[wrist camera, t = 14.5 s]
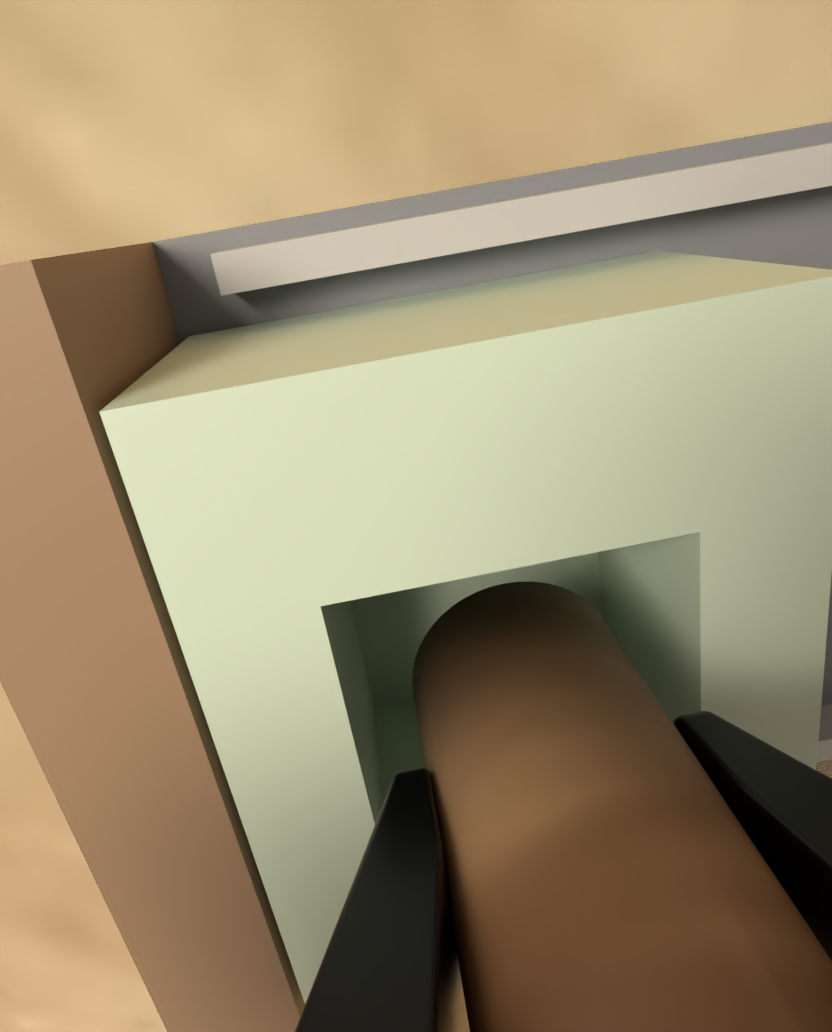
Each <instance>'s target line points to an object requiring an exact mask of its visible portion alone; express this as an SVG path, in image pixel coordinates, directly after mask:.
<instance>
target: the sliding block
mask: <svg viewBox="0 0 832 1032" xmlns="http://www.w3.org/2000/svg"><path fill="white" fill-rule="evenodd" d="M99 413H100V416H101V419H102V421H103V424H104V427H105V430H106V433H107V436H108V439H109V442H110V444H111V447H112V450H113V453H114V456H115V459H116V462H117V465H118V467H119V470H120V473H121V476H122V479H123V482H124V485H125V488H126V491H127V493H128V496H129V499H130V502H131V505H132V508H133V511H134V514H135V516H136V519H137V522H138V525H139V528H140V531H141V534H142V537H143V539H144V542H145V545H146V548H147V551H148V554H149V557H150V560H151V562H152V565H153V568H154V571H155V574H156V577H157V580H158V583H159V585H160V588H161V591H162V594H163V597H164V600H165V603H166V606H167V608H168V611H169V614H170V617H171V620H172V623H173V626H174V629H175V631H176V634H177V637H178V640H179V643H180V646H181V649H182V652H183V655H184V657H185V660H186V663H187V666H188V669H189V672H190V675H191V678H192V680H193V683H194V686H195V689H196V692H197V695H198V698H199V701H200V703H201V706H202V709H203V712H204V715H205V718H206V721H207V724H208V726H209V729H210V732H211V735H212V738H213V741H214V744H215V747H216V749H217V752H218V755H219V758H220V761H221V764H222V767H223V770H224V772H225V775H226V778H227V781H228V784H229V787H230V790H231V793H232V795H233V798H234V801H235V804H236V807H237V810H238V813H239V816H240V819H241V821H242V824H243V827H244V830H245V833H246V836H247V839H248V842H249V844H250V847H251V850H252V853H253V856H254V859H255V862H256V865H257V867H258V870H259V873H260V876H261V879H262V882H263V885H264V888H265V890H266V893H267V896H268V899H269V902H270V905H271V908H272V911H273V913H274V916H275V919H276V922H277V925H278V928H279V931H280V934H281V936H282V939H283V942H284V945H285V948H286V951H287V954H288V957H289V959H290V962H291V965H292V968H293V971H294V974H295V977H296V980H297V983H298V985H299V988H300V991H301V994H302V997H303V1000H304V1003H306V1001H307V998H308V996H309V993H310V991H311V988H312V985H313V983H314V980H315V978H316V975H317V973H318V970H319V967H320V965H321V962H322V960H323V957H324V955H325V952H326V949H327V947H328V944H329V942H330V939H331V937H332V934H333V931H334V929H335V926H336V924H337V921H338V919H339V916H340V913H341V911H342V908H343V906H344V903H345V901H346V898H347V896H348V893H349V890H350V888H351V885H352V883H353V880H354V878H355V875H356V872H357V870H358V867H359V865H360V862H361V860H362V857H363V854H364V852H365V849H366V847H367V844H368V842H369V839H370V836H371V834H372V831H373V829H374V826H375V824H376V821H377V818H378V816H379V813H380V811H381V808H382V806H383V803H384V801H385V798H386V795H387V793H388V790H389V788H390V785H391V783H392V780H393V778H394V776H395V775H396V774H398V773H401V772H406V771H411V770H416V769H420V768H426V765H425V759H424V753H423V747H422V741H421V735H420V729H419V723H418V717H417V711H416V705H415V699H414V693H413V684H412V676H413V666H414V661H415V657H416V655H417V652H418V649H419V646H420V645H421V643H422V641H423V639H424V637H425V635H426V634H427V632H428V631H429V629H430V628H431V627H432V625H433V624H434V623H435V622H436V621H437V620H438V619H439V618H440V617H441V615H443V614H444V613H445V612H446V611H447V610H448V609H450V608H451V607H452V606H453V605H455V604H456V603H458V602H459V601H461V600H462V599H464V598H466V597H468V596H470V595H472V594H474V593H476V592H478V591H481V590H483V589H486V588H488V587H492V586H496V585H500V584H504V583H511V582H528V581H532V582H542V583H548V584H552V585H556V586H560V587H562V588H565V589H567V590H570V591H572V592H574V593H576V594H577V595H579V596H581V597H582V598H584V599H585V600H586V601H588V602H589V603H590V604H591V605H592V606H593V607H594V608H595V609H596V610H597V611H598V612H599V613H600V615H601V616H602V617H603V619H604V620H605V622H606V623H607V625H608V626H609V628H610V629H611V631H612V632H613V634H614V635H615V637H616V638H617V640H618V641H619V643H620V644H621V646H622V647H623V649H624V650H625V652H626V653H627V655H628V656H629V658H630V659H631V661H632V662H633V664H634V665H635V667H636V668H637V670H638V671H639V673H640V674H641V676H642V677H643V679H644V680H645V682H646V683H647V685H648V686H649V688H650V689H651V691H652V692H653V694H654V695H655V697H656V698H657V700H658V701H659V703H660V704H661V706H662V707H663V709H664V710H665V712H666V713H667V715H668V716H669V718H670V719H671V721H672V722H674V720H675V719H676V718H677V717H678V716H681V715H686V714H691V713H696V712H701V711H708V712H712V713H714V714H716V715H717V716H719V717H721V718H723V719H725V720H726V721H728V722H730V723H732V724H734V725H735V726H737V727H739V728H741V729H743V730H744V731H746V732H748V733H750V734H752V735H753V736H755V737H757V738H759V739H761V740H762V741H764V742H766V743H768V744H770V745H771V746H773V747H775V748H777V749H779V750H780V751H782V752H784V753H786V754H788V755H789V756H791V757H793V758H795V759H797V760H798V761H800V762H802V763H804V764H806V765H807V766H809V767H811V768H813V769H815V770H816V768H817V755H818V742H819V729H820V716H821V703H822V690H823V677H824V664H825V651H826V639H827V626H828V613H829V600H830V587H831V574H832V270H830V269H821V268H812V267H802V266H793V265H784V264H775V263H765V262H756V261H747V260H738V259H728V258H719V257H710V256H701V255H691V254H682V253H673V252H664V251H655V252H650V253H644V254H639V255H633V256H628V257H622V258H617V259H611V260H606V261H600V262H595V263H589V264H584V265H578V266H573V267H567V268H562V269H556V270H551V271H545V272H540V273H534V274H529V275H523V276H518V277H512V278H507V279H501V280H496V281H490V282H485V283H479V284H474V285H468V286H463V287H457V288H452V289H446V290H441V291H435V292H430V293H424V294H419V295H413V296H408V297H402V298H397V299H391V300H386V301H380V302H375V303H369V304H364V305H358V306H353V307H347V308H342V309H336V310H331V311H325V312H320V313H314V314H309V315H303V316H298V317H292V318H287V319H281V320H276V321H270V322H265V323H259V324H254V325H248V326H243V327H237V328H232V329H226V330H221V331H215V332H210V333H204V334H199V335H193V336H189V337H188V338H187V339H185V340H184V341H183V342H182V343H181V344H179V345H178V346H177V347H176V348H175V349H173V350H172V351H171V352H170V353H169V354H167V355H166V356H165V357H164V358H163V359H162V360H160V361H159V362H158V363H157V364H156V365H154V366H153V367H152V368H151V369H150V370H148V371H147V372H146V373H145V374H144V375H142V376H141V377H140V378H139V379H138V380H136V381H135V382H134V383H133V384H132V385H130V386H129V387H128V388H127V389H126V390H125V391H123V392H122V393H121V394H120V395H119V396H117V397H116V398H115V399H114V400H113V401H111V402H110V403H109V404H108V405H107V406H105V407H104V408H103V409H102V410H101V411H99Z"/></svg>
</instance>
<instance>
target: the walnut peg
mask: <svg viewBox="0 0 832 1032" xmlns="http://www.w3.org/2000/svg"><path fill="white" fill-rule="evenodd" d="M412 684H413V693H414V699H415V705H416V711H417V717H418V723H419V729H420V735H421V741H422V747H423V753H424V759H425V765H426V769H428V770H429V771H430V774H431V779H432V785H433V791H434V797H435V802H436V808H437V814H438V820H439V826H440V831H441V837H442V843H443V849H444V854H445V860H446V867H447V874H448V881H449V891H450V902H451V913H452V923H453V930H454V938H455V945H456V951H457V957H458V963H459V969H460V975H461V981H462V987H463V993H464V999H465V1005H466V1011H467V1017H468V1023H469V1029H470V1032H832V960H831V959H830V957H829V956H828V954H827V953H826V951H825V950H824V948H823V947H822V945H821V944H820V942H819V941H818V939H817V938H816V936H815V935H814V933H813V932H812V930H811V929H810V927H809V926H808V924H807V923H806V921H805V920H804V918H803V917H802V915H801V914H800V912H799V911H798V909H797V908H796V906H795V905H794V903H793V902H792V900H791V899H790V897H789V896H788V894H787V893H786V891H785V890H784V888H783V887H782V885H781V884H780V882H779V881H778V879H777V878H776V876H775V875H774V873H773V872H772V870H771V869H770V867H769V866H768V864H767V863H766V861H765V860H764V858H763V857H762V855H761V854H760V852H759V851H758V849H757V848H756V846H755V845H754V843H753V842H752V840H751V839H750V837H749V836H748V834H747V833H746V831H745V830H744V829H743V827H742V826H741V824H740V823H739V821H738V820H737V818H736V817H735V815H734V814H733V812H732V811H731V809H730V808H729V806H728V805H727V803H726V802H725V800H724V799H723V797H722V796H721V794H720V793H719V791H718V790H717V788H716V787H715V785H714V784H713V782H712V781H711V779H710V778H709V776H708V775H707V773H706V772H705V770H704V769H703V767H702V766H701V764H700V763H699V761H698V760H697V758H696V757H695V755H694V754H693V752H692V751H691V749H690V748H689V746H688V745H687V743H686V742H685V740H684V739H683V737H682V736H681V734H680V733H679V731H678V730H677V728H676V727H675V725H674V724H673V722H672V721H671V719H670V718H669V716H668V715H667V713H666V712H665V710H664V709H663V707H662V706H661V704H660V703H659V701H658V700H657V698H656V697H655V695H654V694H653V692H652V691H651V689H650V688H649V686H648V685H647V683H646V682H645V680H644V679H643V677H642V676H641V674H640V673H639V671H638V670H637V668H636V667H635V665H634V664H633V662H632V661H631V659H630V658H629V656H628V655H627V653H626V652H625V650H624V649H623V647H622V646H621V644H620V643H619V641H618V640H617V638H616V637H615V635H614V634H613V632H612V631H611V629H610V628H609V626H608V625H607V623H606V622H605V620H604V619H603V617H602V616H601V615H600V613H599V612H598V611H597V610H596V609H595V608H594V607H593V606H592V605H591V604H590V603H589V602H588V601H586V600H585V599H584V598H582V597H581V596H579V595H577V594H576V593H574V592H572V591H570V590H567V589H565V588H562V587H560V586H556V585H552V584H548V583H542V582H532V581H528V582H511V583H504V584H500V585H496V586H492V587H488V588H486V589H483V590H481V591H478V592H476V593H474V594H472V595H470V596H468V597H466V598H464V599H462V600H461V601H459V602H458V603H456V604H455V605H453V606H452V607H451V608H450V609H448V610H447V611H446V612H445V613H444V614H443V615H441V617H440V618H439V619H438V620H437V621H436V622H435V623H434V624H433V625H432V627H431V628H430V629H429V631H428V632H427V634H426V635H425V637H424V639H423V641H422V643H421V645H420V646H419V649H418V652H417V655H416V657H415V661H414V666H413V676H412Z"/></svg>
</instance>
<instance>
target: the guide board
mask: <svg viewBox="0 0 832 1032" xmlns="http://www.w3.org/2000/svg"><path fill="white" fill-rule="evenodd" d="M655 251H664V252H673V253H682V254H691V255H701V256H710V257H719V258H728V259H738V260H747V261H756V262H765V263H775V264H784V265H793V266H802V267H812V268H821V269H830V270H832V122H829V123H823V124H817V125H812V126H806V127H801V128H795V129H789V130H784V131H778V132H772V133H767V134H761V135H755V136H750V137H744V138H738V139H733V140H727V141H721V142H716V143H710V144H705V145H699V146H693V147H688V148H682V149H676V150H671V151H665V152H659V153H654V154H648V155H642V156H637V157H631V158H625V159H620V160H614V161H609V162H603V163H597V164H592V165H586V166H580V167H575V168H569V169H563V170H558V171H552V172H546V173H541V174H535V175H529V176H524V177H518V178H513V179H507V180H501V181H496V182H490V183H484V184H479V185H473V186H467V187H462V188H456V189H450V190H445V191H439V192H433V193H428V194H422V195H417V196H411V197H405V198H400V199H394V200H388V201H383V202H377V203H371V204H366V205H360V206H354V207H349V208H343V209H338V210H332V211H326V212H321V213H315V214H309V215H304V216H298V217H292V218H287V219H281V220H275V221H270V222H264V223H258V224H253V225H247V226H242V227H236V228H230V229H225V230H219V231H213V232H208V233H202V234H196V235H191V236H185V237H179V238H174V239H168V240H162V241H157V242H151V243H144V244H137V245H131V246H124V247H117V248H110V249H103V250H97V251H90V252H83V253H76V254H69V255H62V256H56V257H49V258H42V259H35V260H29V261H23V262H18V263H12V264H6V265H1V266H0V682H1V684H2V686H3V688H4V690H5V692H6V694H7V696H8V699H9V701H10V703H11V705H12V707H13V709H14V711H15V713H16V715H17V717H18V720H19V722H20V724H21V726H22V728H23V730H24V732H25V734H26V736H27V738H28V740H29V743H30V745H31V747H32V749H33V751H34V753H35V755H36V757H37V759H38V761H39V763H40V766H41V768H42V770H43V772H44V774H45V776H46V778H47V780H48V782H49V784H50V787H51V789H52V791H53V793H54V795H55V797H56V799H57V801H58V803H59V805H60V807H61V810H62V812H63V814H64V816H65V818H66V820H67V822H68V824H69V826H70V828H71V831H72V833H73V835H74V837H75V839H76V841H77V843H78V845H79V847H80V849H81V851H82V854H83V856H84V858H85V860H86V862H87V864H88V866H89V868H90V870H91V872H92V875H93V877H94V879H95V881H96V883H97V885H98V887H99V889H100V891H101V893H102V895H103V898H104V900H105V902H106V904H107V906H108V908H109V910H110V912H111V914H112V916H113V919H114V921H115V923H116V925H117V927H118V929H119V931H120V933H121V935H122V937H123V939H124V942H125V944H126V946H127V948H128V950H129V952H130V954H131V956H132V958H133V960H134V963H135V965H136V967H137V969H138V971H139V973H140V975H141V977H142V979H143V981H144V983H145V986H146V988H147V990H148V992H149V994H150V996H151V998H152V1000H153V1002H154V1004H155V1007H156V1009H157V1011H158V1013H159V1015H160V1017H161V1019H162V1021H163V1023H164V1025H165V1027H166V1030H167V1032H295V1029H296V1026H297V1024H298V1021H299V1019H300V1016H301V1014H302V1011H303V1008H304V1006H305V1003H304V1000H303V997H302V994H301V991H300V988H299V985H298V983H297V980H296V977H295V974H294V971H293V968H292V965H291V962H290V959H289V957H288V954H287V951H286V948H285V945H284V942H283V939H282V936H281V934H280V931H279V928H278V925H277V922H276V919H275V916H274V913H273V911H272V908H271V905H270V902H269V899H268V896H267V893H266V890H265V888H264V885H263V882H262V879H261V876H260V873H259V870H258V867H257V865H256V862H255V859H254V856H253V853H252V850H251V847H250V844H249V842H248V839H247V836H246V833H245V830H244V827H243V824H242V821H241V819H240V816H239V813H238V810H237V807H236V804H235V801H234V798H233V795H232V793H231V790H230V787H229V784H228V781H227V778H226V775H225V772H224V770H223V767H222V764H221V761H220V758H219V755H218V752H217V749H216V747H215V744H214V741H213V738H212V735H211V732H210V729H209V726H208V724H207V721H206V718H205V715H204V712H203V709H202V706H201V703H200V701H199V698H198V695H197V692H196V689H195V686H194V683H193V680H192V678H191V675H190V672H189V669H188V666H187V663H186V660H185V657H184V655H183V652H182V649H181V646H180V643H179V640H178V637H177V634H176V631H175V629H174V626H173V623H172V620H171V617H170V614H169V611H168V608H167V606H166V603H165V600H164V597H163V594H162V591H161V588H160V585H159V583H158V580H157V577H156V574H155V571H154V568H153V565H152V562H151V560H150V557H149V554H148V551H147V548H146V545H145V542H144V539H143V537H142V534H141V531H140V528H139V525H138V522H137V519H136V516H135V514H134V511H133V508H132V505H131V502H130V499H129V496H128V493H127V491H126V488H125V485H124V482H123V479H122V476H121V473H120V470H119V467H118V465H117V462H116V459H115V456H114V453H113V450H112V447H111V444H110V442H109V439H108V436H107V433H106V430H105V427H104V424H103V421H102V419H101V416H100V413H99V411H101V410H102V409H103V408H104V407H105V406H107V405H108V404H109V403H110V402H111V401H113V400H114V399H115V398H116V397H117V396H119V395H120V394H121V393H122V392H123V391H125V390H126V389H127V388H128V387H129V386H130V385H132V384H133V383H134V382H135V381H136V380H138V379H139V378H140V377H141V376H142V375H144V374H145V373H146V372H147V371H148V370H150V369H151V368H152V367H153V366H154V365H156V364H157V363H158V362H159V361H160V360H162V359H163V358H164V357H165V356H166V355H167V354H169V353H170V352H171V351H172V350H173V349H175V348H176V347H177V346H178V345H179V344H181V343H182V342H183V341H184V340H185V339H187V338H188V337H189V336H193V335H199V334H204V333H210V332H215V331H221V330H226V329H232V328H237V327H243V326H248V325H254V324H259V323H265V322H270V321H276V320H281V319H287V318H292V317H298V316H303V315H309V314H314V313H320V312H325V311H331V310H336V309H342V308H347V307H353V306H358V305H364V304H369V303H375V302H380V301H386V300H391V299H397V298H402V297H408V296H413V295H419V294H424V293H430V292H435V291H441V290H446V289H452V288H457V287H463V286H468V285H474V284H479V283H485V282H490V281H496V280H501V279H507V278H512V277H518V276H523V275H529V274H534V273H540V272H545V271H551V270H556V269H562V268H567V267H573V266H578V265H584V264H589V263H595V262H600V261H606V260H611V259H617V258H622V257H628V256H633V255H639V254H644V253H650V252H655ZM828 760H832V574H831V587H830V600H829V613H828V626H827V639H826V651H825V664H824V677H823V690H822V703H821V716H820V729H819V742H818V755H817V763H818V762H823V761H828Z"/></svg>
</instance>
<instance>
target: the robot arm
mask: <svg viewBox="0 0 832 1032" xmlns="http://www.w3.org/2000/svg"><path fill="white" fill-rule="evenodd" d="M673 724H674V725H675V727H676V728H677V730H678V731H679V733H680V734H681V736H682V737H683V739H684V740H685V742H686V743H687V745H688V746H689V748H690V749H691V751H692V752H693V754H694V755H695V757H696V758H697V760H698V761H699V763H700V764H701V766H702V767H703V769H704V770H705V772H706V773H707V775H708V776H709V778H710V779H711V781H712V782H713V784H714V785H715V787H716V788H717V790H718V791H719V793H720V794H721V796H722V797H723V799H724V800H725V802H726V803H727V805H728V806H729V808H730V809H731V811H732V812H733V814H734V815H735V817H736V818H737V820H738V821H739V823H740V824H741V826H742V827H743V829H744V830H745V831H746V833H747V834H748V836H749V837H750V839H751V840H752V842H753V843H754V845H755V846H756V848H757V849H758V851H759V852H760V854H761V855H762V857H763V858H764V860H765V861H766V863H767V864H768V866H769V867H770V869H771V870H772V872H773V873H774V875H775V876H776V878H777V879H778V881H779V882H780V884H781V885H782V887H783V888H784V890H785V891H786V893H787V894H788V896H789V897H790V899H791V900H792V902H793V903H794V905H795V906H796V908H797V909H798V911H799V912H800V914H801V915H802V917H803V918H804V920H805V921H806V923H807V924H808V926H809V927H810V929H811V930H812V932H813V933H814V935H815V936H816V938H817V939H818V941H819V942H820V944H821V945H822V947H823V948H824V950H825V951H826V953H827V954H828V956H829V957H830V959H831V960H832V779H831V778H829V777H827V776H825V775H824V774H822V773H820V772H818V771H816V770H815V769H813V768H811V767H809V766H807V765H806V764H804V763H802V762H800V761H798V760H797V759H795V758H793V757H791V756H789V755H788V754H786V753H784V752H782V751H780V750H779V749H777V748H775V747H773V746H771V745H770V744H768V743H766V742H764V741H762V740H761V739H759V738H757V737H755V736H753V735H752V734H750V733H748V732H746V731H744V730H743V729H741V728H739V727H737V726H735V725H734V724H732V723H730V722H728V721H726V720H725V719H723V718H721V717H719V716H717V715H716V714H714V713H712V712H708V711H701V712H696V713H691V714H686V715H681V716H678V717H677V718H676V719H675V720H674V722H673ZM295 1032H470V1029H469V1023H468V1017H467V1011H466V1005H465V999H464V993H463V987H462V981H461V975H460V969H459V963H458V957H457V951H456V945H455V938H454V930H453V923H452V913H451V902H450V891H449V881H448V874H447V867H446V860H445V854H444V849H443V843H442V837H441V831H440V826H439V820H438V814H437V808H436V802H435V797H434V791H433V785H432V779H431V774H430V771H429V770H428V769H426V768H420V769H416V770H411V771H406V772H401V773H398V774H396V775H395V776H394V778H393V780H392V783H391V785H390V788H389V790H388V793H387V795H386V798H385V801H384V803H383V806H382V808H381V811H380V813H379V816H378V818H377V821H376V824H375V826H374V829H373V831H372V834H371V836H370V839H369V842H368V844H367V847H366V849H365V852H364V854H363V857H362V860H361V862H360V865H359V867H358V870H357V872H356V875H355V878H354V880H353V883H352V885H351V888H350V890H349V893H348V896H347V898H346V901H345V903H344V906H343V908H342V911H341V913H340V916H339V919H338V921H337V924H336V926H335V929H334V931H333V934H332V937H331V939H330V942H329V944H328V947H327V949H326V952H325V955H324V957H323V960H322V962H321V965H320V967H319V970H318V973H317V975H316V978H315V980H314V983H313V985H312V988H311V991H310V993H309V996H308V998H307V1001H306V1003H305V1006H304V1008H303V1011H302V1014H301V1016H300V1019H299V1021H298V1024H297V1026H296V1029H295Z"/></svg>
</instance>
